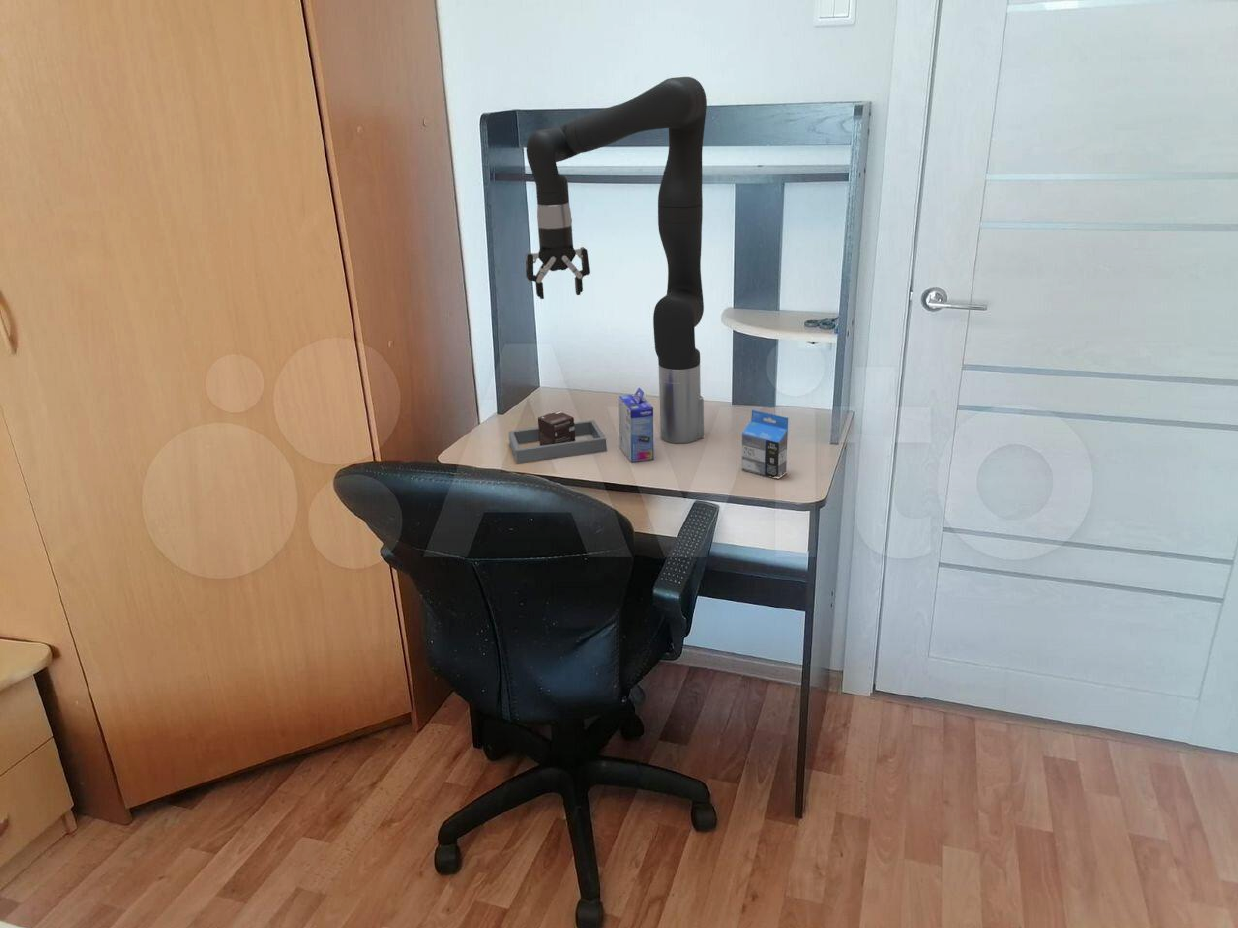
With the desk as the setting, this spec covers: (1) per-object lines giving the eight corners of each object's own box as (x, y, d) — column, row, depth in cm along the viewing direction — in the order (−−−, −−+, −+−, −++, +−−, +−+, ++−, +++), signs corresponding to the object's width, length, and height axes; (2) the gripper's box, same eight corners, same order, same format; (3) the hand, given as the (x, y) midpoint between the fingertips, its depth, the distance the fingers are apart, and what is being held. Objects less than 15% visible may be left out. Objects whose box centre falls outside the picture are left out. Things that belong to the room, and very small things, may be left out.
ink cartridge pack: (740, 470, 188) (740, 414, 183) (750, 463, 191) (751, 409, 186) (777, 480, 183) (779, 423, 178) (787, 473, 186) (789, 417, 181)
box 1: (554, 455, 200) (551, 424, 197) (539, 447, 205) (536, 417, 202) (576, 447, 204) (574, 417, 201) (561, 440, 208) (559, 410, 205)
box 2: (594, 431, 211) (593, 419, 210) (606, 451, 201) (606, 438, 200) (509, 443, 207) (508, 431, 206) (517, 463, 197) (516, 451, 195)
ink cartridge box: (655, 460, 195) (653, 396, 189) (631, 463, 194) (628, 400, 188) (642, 443, 204) (640, 382, 198) (618, 447, 203) (615, 385, 197)
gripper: (582, 219, 206) (586, 289, 212) (520, 224, 203) (526, 296, 209) (589, 224, 199) (593, 297, 206) (525, 229, 196) (531, 303, 203)
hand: (559, 296), depth 208 cm, fingers open, 8 cm apart
